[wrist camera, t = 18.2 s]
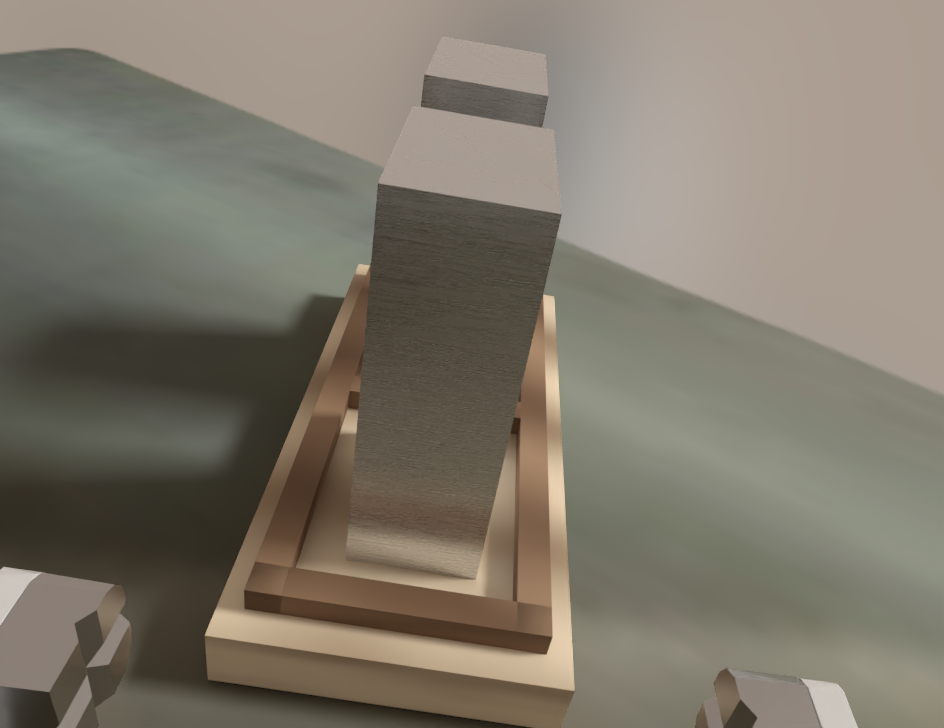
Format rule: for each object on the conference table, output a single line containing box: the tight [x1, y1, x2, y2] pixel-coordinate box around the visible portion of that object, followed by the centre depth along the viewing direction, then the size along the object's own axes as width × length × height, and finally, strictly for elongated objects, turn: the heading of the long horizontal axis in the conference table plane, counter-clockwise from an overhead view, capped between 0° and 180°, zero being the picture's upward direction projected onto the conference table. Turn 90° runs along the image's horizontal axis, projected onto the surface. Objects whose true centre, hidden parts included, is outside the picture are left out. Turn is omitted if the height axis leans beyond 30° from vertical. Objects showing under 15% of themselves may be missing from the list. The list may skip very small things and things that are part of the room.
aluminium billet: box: [345, 106, 562, 580], centre depth 22 cm, size 6×4×12 cm, turn 176°
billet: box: [421, 36, 548, 128], centre depth 30 cm, size 6×4×12 cm, turn 176°
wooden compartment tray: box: [205, 264, 575, 728], centre depth 30 cm, size 22×10×3 cm, turn 176°
